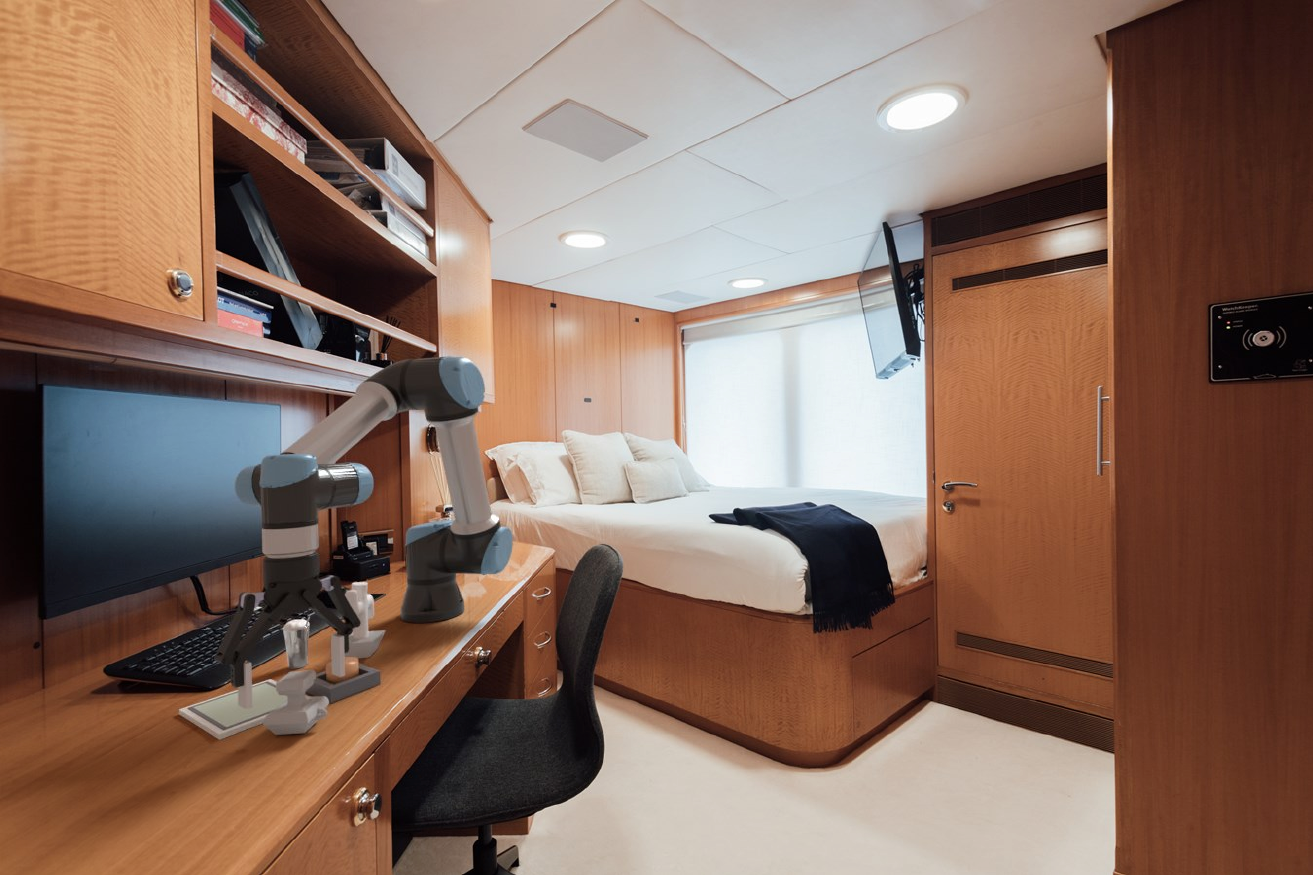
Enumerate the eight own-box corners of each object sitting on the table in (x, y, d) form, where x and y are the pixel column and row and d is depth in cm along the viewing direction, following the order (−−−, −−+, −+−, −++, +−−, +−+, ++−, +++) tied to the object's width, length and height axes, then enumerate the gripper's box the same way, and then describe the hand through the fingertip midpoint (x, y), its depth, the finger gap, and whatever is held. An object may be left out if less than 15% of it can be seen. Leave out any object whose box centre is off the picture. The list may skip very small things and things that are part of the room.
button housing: (353, 673, 115) (353, 661, 115) (380, 683, 110) (380, 670, 110) (304, 691, 107) (304, 678, 107) (331, 703, 102) (330, 689, 102)
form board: (270, 683, 111) (270, 678, 111) (314, 703, 103) (314, 698, 103) (179, 714, 100) (178, 708, 100) (219, 739, 91) (219, 733, 91)
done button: (349, 670, 112) (348, 654, 112) (364, 676, 109) (364, 660, 109) (320, 680, 108) (320, 664, 108) (336, 687, 105) (335, 670, 105)
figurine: (388, 645, 130) (385, 576, 130) (370, 662, 121) (367, 587, 120) (353, 647, 129) (351, 577, 129) (333, 664, 120) (330, 589, 120)
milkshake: (302, 671, 117) (300, 620, 117) (278, 669, 118) (276, 619, 118) (319, 662, 121) (317, 613, 121) (297, 660, 122) (295, 612, 122)
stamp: (255, 742, 90) (253, 686, 90) (280, 720, 97) (278, 668, 97) (317, 738, 91) (315, 682, 91) (337, 717, 97) (335, 665, 97)
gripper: (356, 538, 106) (359, 659, 106) (184, 566, 85) (188, 715, 85) (380, 542, 101) (383, 667, 101) (206, 571, 81) (210, 729, 81)
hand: (294, 689), depth 93 cm, fingers open, 13 cm apart
